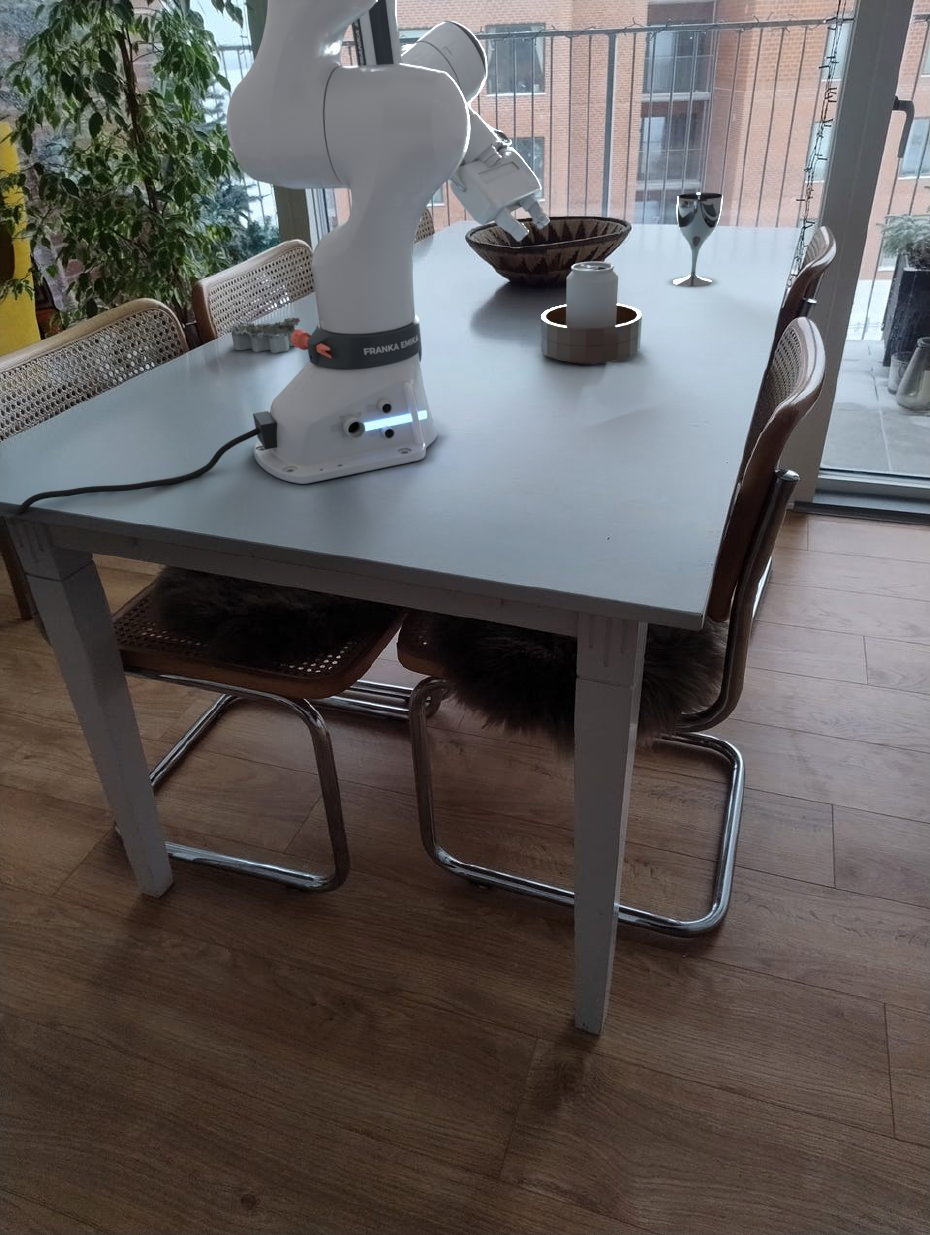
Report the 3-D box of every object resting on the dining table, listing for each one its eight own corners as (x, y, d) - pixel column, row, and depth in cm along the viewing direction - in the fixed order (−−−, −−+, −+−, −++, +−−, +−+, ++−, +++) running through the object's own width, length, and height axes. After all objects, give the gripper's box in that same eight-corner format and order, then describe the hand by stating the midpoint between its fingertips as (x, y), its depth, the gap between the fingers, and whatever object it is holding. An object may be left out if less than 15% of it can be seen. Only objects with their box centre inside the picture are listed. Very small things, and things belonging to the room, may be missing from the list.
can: (613, 355, 129) (617, 270, 122) (562, 354, 130) (564, 270, 124) (616, 340, 135) (620, 259, 128) (568, 340, 136) (569, 259, 130)
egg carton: (306, 342, 145) (302, 317, 143) (280, 355, 139) (276, 329, 137) (254, 337, 149) (249, 312, 147) (226, 349, 143) (222, 324, 141)
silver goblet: (719, 279, 167) (728, 193, 159) (705, 288, 162) (714, 200, 153) (680, 275, 171) (687, 192, 163) (664, 285, 166) (671, 198, 157)
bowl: (584, 373, 124) (585, 335, 121) (522, 351, 135) (521, 314, 132) (659, 352, 131) (662, 315, 128) (595, 332, 141) (596, 297, 138)
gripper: (455, 146, 115) (525, 228, 117) (509, 131, 130) (570, 203, 132) (427, 183, 119) (495, 262, 121) (482, 165, 134) (542, 234, 136)
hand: (535, 231), depth 127 cm, fingers open, 8 cm apart
